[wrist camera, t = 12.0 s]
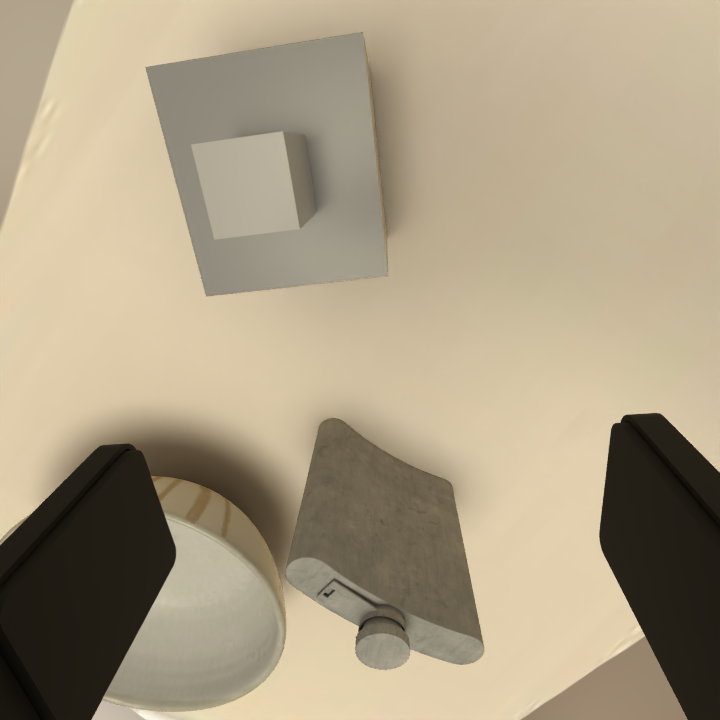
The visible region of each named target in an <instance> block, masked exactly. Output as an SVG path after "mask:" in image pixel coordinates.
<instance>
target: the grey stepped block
mask: <svg viewBox="0 0 720 720" xmlns="http://www.w3.org/2000/svg"><path fill="white" fill-rule="evenodd" d="M145 68H146V71H147V75H148V79H149V83H150V86H151V90H152V94H153V98H154V101H155V105H156V109H157V113H158V117H159V120H160V124H161V128H162V132H163V135H164V139H165V143H166V147H167V150H168V154H169V158H170V162H171V165H172V169H173V173H174V177H175V181H176V184H177V188H178V192H179V196H180V199H181V203H182V207H183V211H184V214H185V218H186V222H187V226H188V230H189V233H190V237H191V241H192V245H193V248H194V252H195V256H196V260H197V263H198V267H199V271H200V275H201V279H202V282H203V286H204V290H205V294H206V296H215V295H224V294H233V293H241V292H250V291H259V290H268V289H277V288H286V287H295V286H304V285H313V284H322V283H330V282H339V281H348V280H357V279H366V278H375V277H384V276H388V257H387V234H386V224H385V214H384V204H383V194H382V184H381V175H380V165H379V155H378V145H377V135H376V125H375V116H374V106H373V96H372V86H371V76H370V68H369V63H368V58H367V52H366V47H365V42H364V37H363V32H360V33H354V34H348V35H342V36H336V37H329V38H323V39H317V40H311V41H305V42H298V43H292V44H286V45H280V46H274V47H267V48H261V49H255V50H249V51H243V52H237V53H230V54H224V55H218V56H212V57H206V58H199V59H193V60H187V61H181V62H175V63H168V64H162V65H156V66H150V67H145Z"/></svg>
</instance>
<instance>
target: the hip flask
mask: <svg viewBox="0 0 720 720" xmlns="http://www.w3.org/2000/svg"><path fill="white" fill-rule="evenodd" d="M286 578H287V580H288V581H289V583H290V584H291V585H292V586H294V587H295V588H297V589H298V590H299V591H301V592H302V593H304V594H305V595H307V596H308V597H310V598H311V599H313V600H314V601H316V602H317V603H319V604H320V605H322V606H324V607H325V608H327V609H329V610H330V611H332V612H334V613H336V614H337V615H339V616H341V617H343V618H344V619H346V620H348V621H350V622H352V623H354V624H356V625H358V626H359V630H358V632H359V633H358V634H357V637H356V647H355V650H356V652H355V653H356V656H357V657H358V659H359V660H360V661H361V662H362V663H363V664H365V665H366V666H369V667H371V668H374V669H380V670H382V669H383V670H387V669H393V668H397V667H400V666H401V665H403V664H404V663H405V662H406V661H407V659H409V656H410V649H411V650H414V651H417V652H419V653H422V654H425V655H428V656H431V657H434V658H437V659H440V660H443V661H446V662H450V663H453V664H460V665H464V664H470V663H473V662H475V661H477V660H478V659H480V658H481V657H482V655H483V653H484V645H483V640H482V635H481V629H480V624H479V619H478V614H477V609H476V604H475V599H474V594H473V589H472V584H471V579H470V574H469V569H468V564H467V559H466V554H465V549H464V544H463V539H462V534H461V529H460V524H459V519H458V513H457V508H456V503H455V498H454V493H453V488H452V485H451V484H450V483H449V482H448V481H447V480H445V479H442V478H439V477H436V476H434V475H431V474H428V473H426V472H423V471H421V470H419V469H417V468H414V467H412V466H410V465H408V464H406V463H404V462H402V461H400V460H399V459H397V458H395V457H393V456H391V455H390V454H388V453H386V452H384V451H383V450H381V449H380V448H378V447H376V446H375V445H373V444H372V443H370V442H369V441H367V440H366V439H365V438H363V437H362V436H360V435H359V434H358V433H357V432H355V431H354V430H353V429H352V428H351V427H349V426H348V425H347V424H346V423H345V422H343V421H341V420H339V419H328V420H325V421H324V422H323V423H322V424H321V425H320V426H319V430H318V434H317V438H316V442H315V447H314V451H313V455H312V460H311V464H310V468H309V473H308V477H307V481H306V485H305V490H304V494H303V498H302V503H301V507H300V511H299V515H298V520H297V524H296V528H295V533H294V537H293V541H292V546H291V550H290V554H289V558H288V563H287V567H286Z"/></svg>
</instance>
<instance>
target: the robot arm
mask: <svg viewBox="0 0 720 720" xmlns="http://www.w3.org/2000/svg"><path fill="white" fill-rule="evenodd" d="M599 537H600V544H601V548H602V551H603V554H604V556H605V558H606V560H607V562H608V564H609V566H610V568H611V569H612V571H613V573H614V575H615V577H616V579H617V581H618V583H619V585H620V587H621V589H622V591H623V593H624V595H625V597H626V599H627V601H628V603H629V605H630V607H631V609H632V611H633V613H634V615H635V617H636V619H637V621H638V623H639V625H640V627H641V628H642V630H643V632H644V634H645V636H646V638H647V640H648V642H649V644H650V646H651V648H652V650H653V652H654V654H655V656H656V658H657V660H658V662H659V664H660V666H661V668H662V670H663V672H664V674H665V676H666V677H667V680H668V682H669V683H670V686H671V687H672V689H673V691H674V693H675V695H676V697H677V699H678V701H679V703H680V705H681V707H682V709H683V711H684V712H685V715H686V717H687V719H688V720H720V473H719V472H718V471H717V470H716V469H715V468H714V467H713V466H712V465H711V463H710V462H709V461H708V460H707V459H706V458H705V457H704V456H703V455H702V454H701V453H700V452H699V451H698V450H697V449H696V448H695V447H694V446H693V445H692V444H691V443H690V442H689V441H688V440H687V439H686V438H685V437H684V436H683V435H682V434H681V433H680V432H679V431H678V430H677V429H676V428H675V427H674V426H673V425H672V424H671V423H670V422H669V421H668V420H667V419H666V418H665V417H664V416H662V415H661V414H659V413H650V414H633V415H625V416H623V418H622V420H621V423H615V424H613V426H612V429H611V436H610V445H609V453H608V462H607V471H606V480H605V488H604V497H603V506H602V515H601V523H600V533H599ZM175 560H176V546H175V543H174V540H173V538H172V535H171V532H170V529H169V526H168V523H167V520H166V518H165V515H164V512H163V509H162V506H161V503H160V500H159V498H158V495H157V492H156V489H155V486H154V483H153V480H152V478H151V475H150V472H149V469H148V466H147V463H146V461H145V458H144V455H143V453H142V452H141V451H139V450H136V449H135V447H134V446H133V445H131V444H115V445H102V446H100V447H98V448H97V449H96V450H95V451H94V452H93V453H92V454H91V455H90V456H89V457H88V458H87V459H86V460H85V461H84V462H83V463H82V464H81V465H80V466H79V467H78V468H77V469H76V470H75V471H74V472H73V473H72V474H71V475H70V476H69V477H68V478H67V479H66V480H65V481H64V482H63V483H62V484H61V485H60V486H59V487H58V488H57V489H56V490H55V491H54V492H53V493H52V494H51V495H50V496H49V497H48V498H47V499H46V500H45V501H44V502H43V503H42V504H41V505H40V506H39V507H38V508H37V509H36V510H35V511H34V512H33V513H32V514H31V515H30V516H29V517H28V518H27V519H26V520H25V521H24V522H23V523H22V524H21V525H20V526H19V527H18V528H17V529H16V530H15V531H14V532H13V533H12V534H11V535H10V536H9V537H8V538H7V539H6V540H5V541H4V542H3V543H2V544H1V545H0V720H91V719H92V717H93V715H94V714H95V712H96V710H97V708H98V706H99V704H100V703H101V701H102V699H103V697H104V695H105V693H106V691H107V689H108V688H109V686H110V684H111V682H112V680H113V678H114V676H115V674H116V673H117V671H118V669H119V667H120V665H121V663H122V661H123V660H124V658H125V656H126V654H127V652H128V650H129V648H130V646H131V645H132V643H133V641H134V639H135V637H136V635H137V633H138V632H139V630H140V628H141V626H142V624H143V622H144V620H145V618H146V617H147V615H148V613H149V611H150V609H151V607H152V605H153V603H154V602H155V600H156V598H157V596H158V594H159V592H160V590H161V589H162V587H163V585H164V583H165V581H166V579H167V577H168V575H169V574H170V572H171V570H172V568H173V566H174V564H175Z"/></svg>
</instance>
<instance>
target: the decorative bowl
mask: <svg viewBox="0 0 720 720" xmlns="http://www.w3.org/2000/svg"><path fill="white" fill-rule="evenodd" d="M151 478H152V480H153V483H154V486H155V489H156V492H157V495H158V498H159V500H160V503H161V506H162V509H163V512H164V515H165V518H166V520H167V523H168V526H169V529H170V532H171V535H172V538H173V540H174V543H175V546H176V560H175V564H174V566H173V568H172V570H171V572H170V574H169V575H168V577H167V579H166V581H165V583H164V585H163V587H162V589H161V590H160V592H159V594H158V596H157V598H156V600H155V602H154V603H153V605H152V607H151V609H150V611H149V613H148V615H147V617H146V618H145V620H144V622H143V624H142V626H141V628H140V630H139V632H138V633H137V635H136V637H135V639H134V641H133V643H132V645H131V646H130V648H129V650H128V652H127V654H126V656H125V658H124V660H123V661H122V663H121V665H120V667H119V669H118V671H117V673H116V674H115V676H114V678H113V680H112V682H111V684H110V686H109V688H108V689H107V691H106V693H105V695H104V697H103V699H102V700H104V701H107V702H110V703H113V704H117V705H121V706H126V707H130V708H136V709H142V710H150V711H162V712H183V711H194V710H202V709H207V708H212V707H216V706H220V705H223V704H226V703H229V702H231V701H234V700H236V699H238V698H240V697H242V696H244V695H246V694H248V693H249V692H251V691H252V690H254V689H255V688H257V687H258V686H259V685H260V684H261V683H263V682H264V681H265V680H266V678H267V677H268V676H269V675H270V674H271V673H272V671H273V670H274V669H275V667H276V665H277V664H278V662H279V660H280V657H281V655H282V652H283V649H284V644H285V639H286V611H285V603H284V596H283V590H282V585H281V581H280V577H279V574H278V570H277V567H276V565H275V562H274V559H273V557H272V554H271V552H270V550H269V548H268V546H267V544H266V542H265V541H264V539H263V537H262V535H261V534H260V532H259V531H258V530H257V528H256V527H255V525H254V524H253V523H252V522H251V521H250V519H249V518H248V517H247V516H246V515H245V514H244V513H243V512H242V511H241V510H240V509H239V508H238V507H237V506H235V505H234V504H233V503H231V502H230V501H229V500H227V499H226V498H224V497H223V496H221V495H220V494H218V493H216V492H214V491H213V490H211V489H209V488H206V487H204V486H202V485H199V484H196V483H193V482H190V481H186V480H182V479H177V478H171V477H163V476H151ZM30 515H31V514H30ZM30 515H29V516H30ZM29 516H27V517H26V518H24V519H23V520H21V521H20V522H19V523H18V524H16V525H15V526H14V527H13V528H11V529H10V530H9V531H8V532H7V533H6V534H5V535H4V536H3V538H2V539H1V540H0V545H1V544H2V543H3V542H4V541H5V540H6V539H7V538H8V537H9V536H10V535H11V534H12V533H13V532H14V531H15V530H16V529H17V528H18V527H19V526H20V525H21V524H22V523H23V522H24V521H25V520H26V519H27V518H28V517H29Z"/></svg>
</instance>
